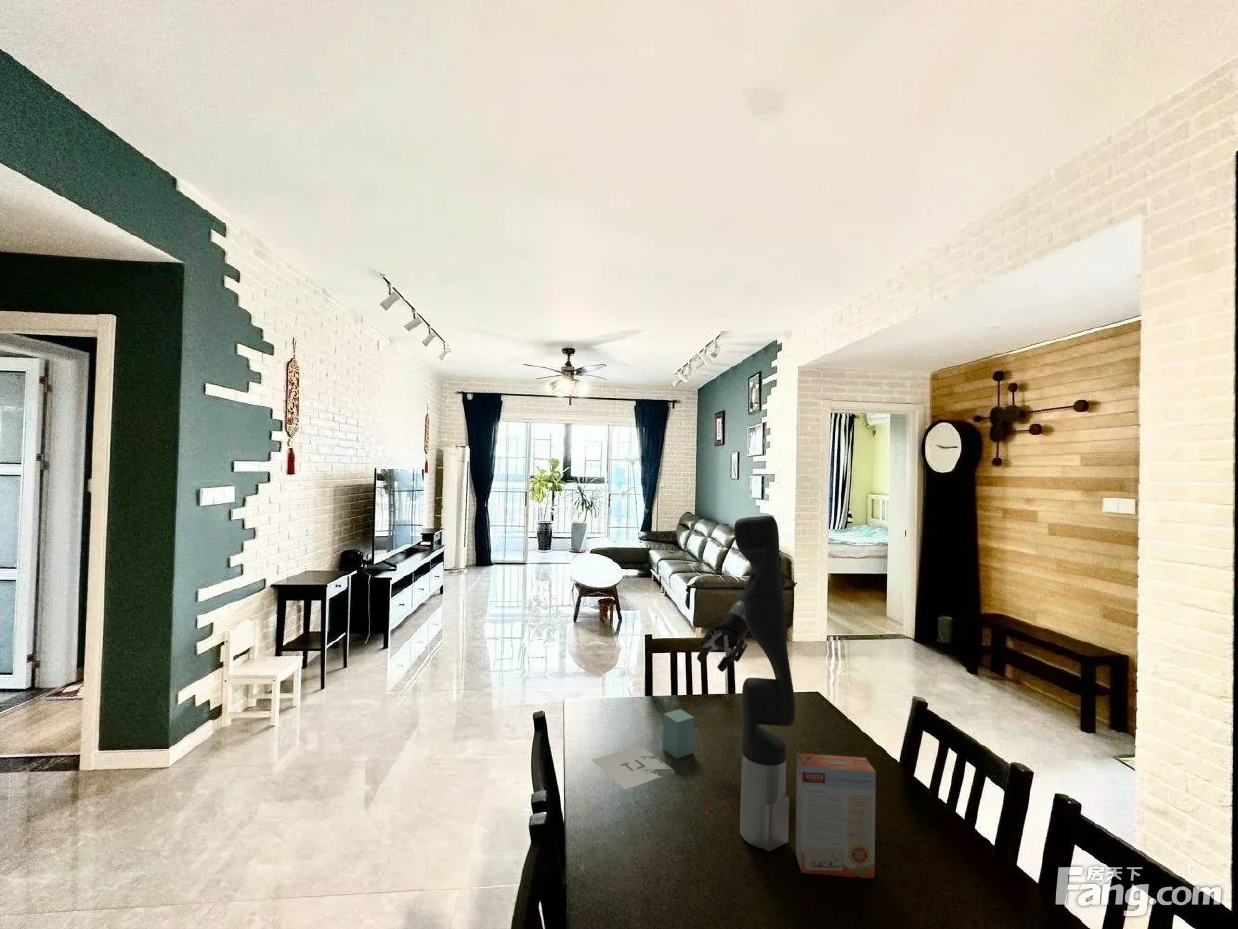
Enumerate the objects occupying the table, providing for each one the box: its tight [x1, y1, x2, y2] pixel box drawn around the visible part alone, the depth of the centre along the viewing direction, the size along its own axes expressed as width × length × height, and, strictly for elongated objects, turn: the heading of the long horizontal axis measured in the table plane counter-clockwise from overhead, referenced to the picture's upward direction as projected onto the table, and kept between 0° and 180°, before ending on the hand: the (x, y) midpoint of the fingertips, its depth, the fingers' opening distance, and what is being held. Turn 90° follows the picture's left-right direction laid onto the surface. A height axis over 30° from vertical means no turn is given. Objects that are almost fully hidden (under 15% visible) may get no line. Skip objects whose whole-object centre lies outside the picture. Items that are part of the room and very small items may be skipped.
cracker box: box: [795, 752, 877, 879], centre depth 111 cm, size 14×6×21 cm, turn 84°
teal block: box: [662, 708, 695, 760], centre depth 154 cm, size 6×6×10 cm
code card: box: [591, 744, 675, 790], centre depth 146 cm, size 16×16×1 cm
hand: (709, 665), depth 158 cm, fingers open, 8 cm apart
